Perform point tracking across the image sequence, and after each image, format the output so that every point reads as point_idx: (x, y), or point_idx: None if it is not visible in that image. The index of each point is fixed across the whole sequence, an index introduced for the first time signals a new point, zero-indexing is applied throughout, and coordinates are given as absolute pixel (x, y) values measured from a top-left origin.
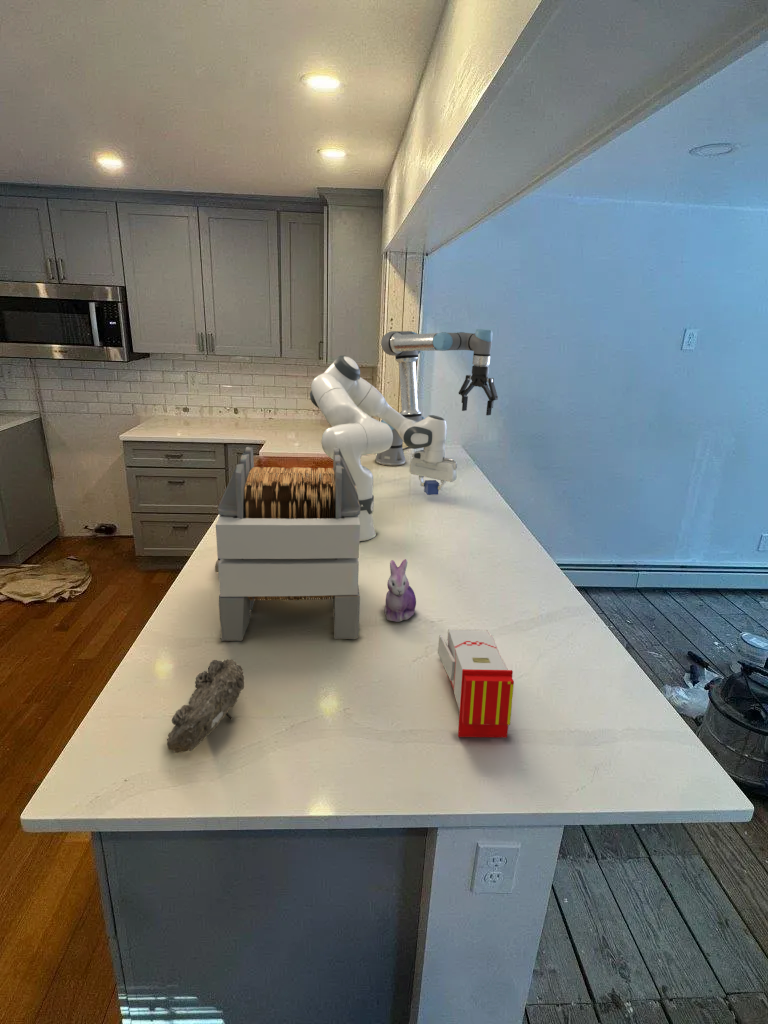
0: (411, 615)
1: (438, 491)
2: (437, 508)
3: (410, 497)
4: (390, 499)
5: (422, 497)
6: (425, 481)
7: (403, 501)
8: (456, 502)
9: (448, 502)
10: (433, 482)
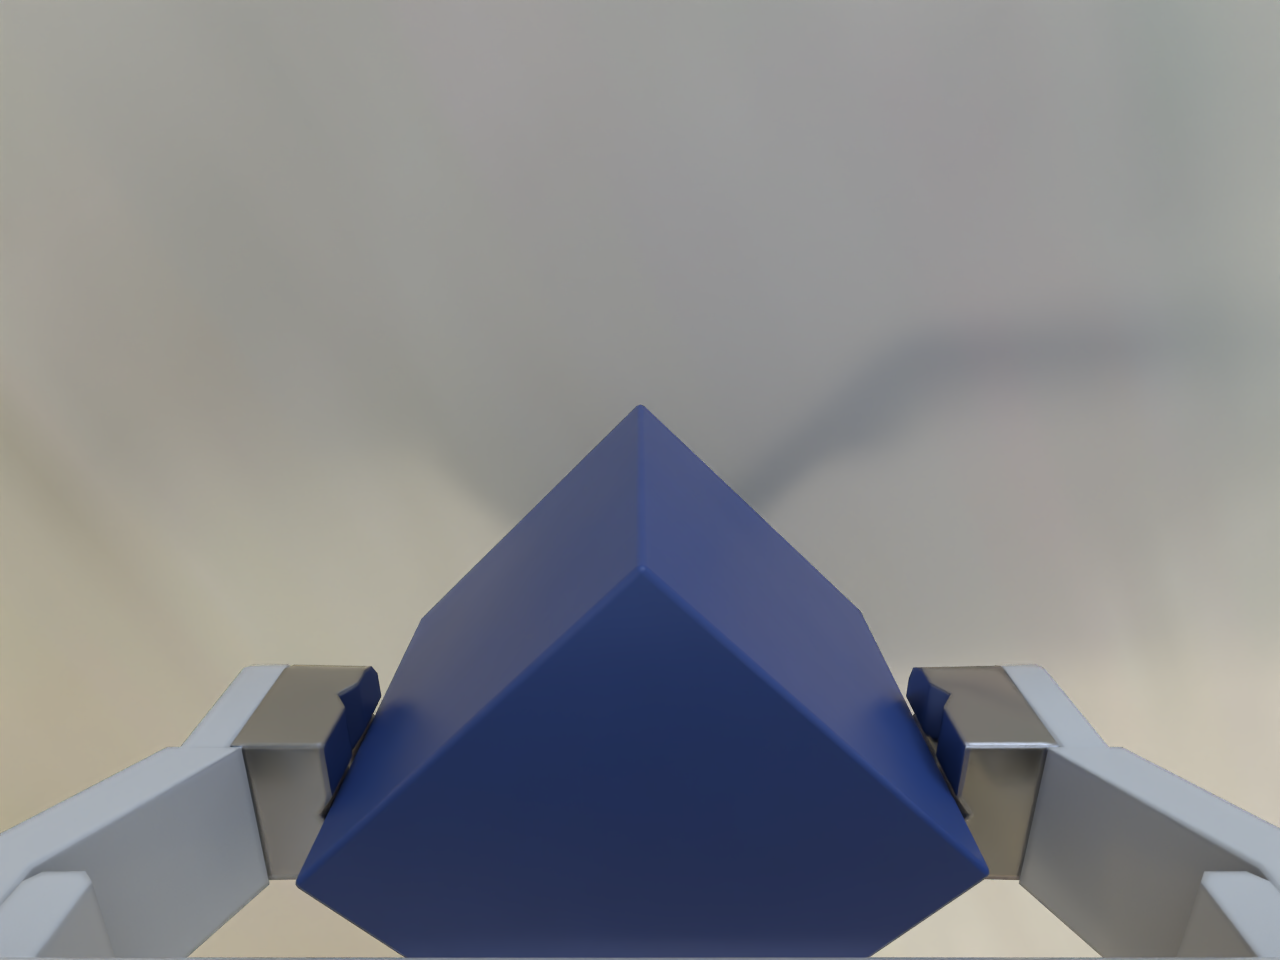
0: None
1: (884, 664)
2: None
3: (218, 651)
4: None
5: (406, 496)
6: (370, 910)
7: (284, 899)
8: (1243, 319)
9: (1061, 440)
10: (737, 919)
